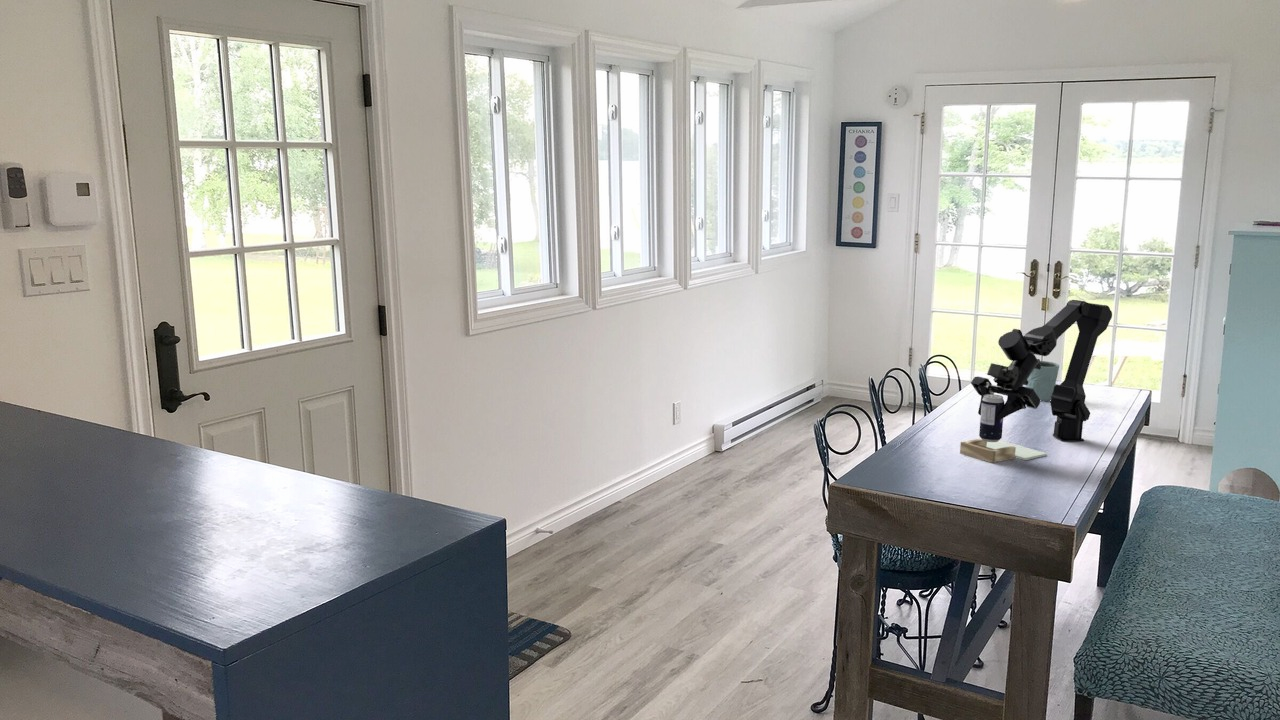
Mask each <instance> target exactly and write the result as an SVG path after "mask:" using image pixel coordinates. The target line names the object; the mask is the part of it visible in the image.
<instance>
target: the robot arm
mask: <svg viewBox="0 0 1280 720" xmlns="http://www.w3.org/2000/svg"><path fill="white" fill-rule="evenodd" d="M1112 317H1113V312H1112V310H1111V308H1110V306H1109V305H1106V304H1099V303H1091V302H1087V301H1085V300H1077V299H1071V300H1068V301H1067V302H1066V305H1065V306H1064V307H1063V308H1062V309H1060V310H1059V311H1058V312H1057V313H1056V314H1055V315H1054V316H1053V317H1051V319H1049V321H1047V322H1046V323H1045V324H1044V325H1042V326H1039V327H1036V328H1032V329H1031V330H1030V331H1027V332H1026V333H1025V334H1024V335H1023V332H1022V330H1021V329H1018V328H1012V330H1011V331H1008V332H1006V333H1004V334H1003V335H1001V336H1000V337H999V339H998V341H997V342H998V345H999V348H1000V349H1001V351H1002V352H1003V354H1004V355H1005V357H1006V358H1007V359H1008V360H1009V361H1011V362H1010V364H1009V365H1008V366H1005V365H1003V364H1002V365H1001V364H997V363H990V366H989V368H988V371H987V373H986V375H987V376H990V377H991V378H992V377H993V381H994V383H995V384H996V385H995V384H992V382H991V381H990V379H989V378H986V377H982V376H978V375H977V376H974V377H973V379H972V380H971V381H970V384H971V386H972V387H973V389H974V390H975V392H976V393H977V394H978V395H979V396H981V397H980V402H979V405H978V406H979V408H978V411H977V413H978V415H979V416H981V404H982V399H983V397H984V395H986V394H997V395H1001V396H1005V397H1006V396H1007V399H1006V401H1005V402H1004V406H1003V407H1002V409H1001V410H1000V412H999V414H998V416H997V419H998V420H1001V419H1003V420H1004V419H1005V418H1007V417H1008V416H1010V415H1012V414H1014V413H1016V412H1019V411H1020V410H1023V409H1024V410H1025V409H1027V408H1030V409H1034V410H1037V409H1038V407H1039V406H1040V405H1041V401H1040V398H1039V397H1038V395H1037V394H1036V392H1035V391H1034V389H1032V388H1028V387H1026V385H1028V383H1029V382H1028V380H1027V379H1028V377H1029V376H1030V374H1031V373H1032V371H1033V370H1034V369H1039V370H1040V369H1041V364H1040V361H1041V360H1040V359H1039V358H1037V356H1041V357H1047V356H1049V355H1051V353H1052V352H1053V351H1054V349H1056V347H1057V341H1058V339H1059V338H1061V336H1063V334H1064V333H1065V332H1066V331H1067V330H1069V328H1071V327H1072V326H1073V325H1074V324H1075V323H1076V326H1077V328H1078V335H1077V339H1076V342H1075V345H1074V348H1073V351H1072V355H1071V358H1070V362H1069V363H1068V364H1069V365H1068V368H1067V371H1066V373H1065V376H1064V377H1065V378H1064V380H1063V381H1062V382H1061V383H1059V384H1057V383H1056V385H1055V386H1054V390H1053V393H1052V396H1051V401H1049V403H1050V408H1051V409H1050V410H1051V416H1056V421H1054V427H1053V433H1052V436H1053V437H1055V438H1056V439H1058V440H1059V441H1062V442H1084V441H1085V439H1084V438H1082V436H1083V429H1084V428H1083V426H1084V425H1083V424H1084V422H1087V421H1088V420H1089V419H1090V415H1091V412H1090V410H1089V408H1088V407H1087V405H1086V403H1085V402H1086V398H1087V397H1086V396H1087V395H1086V393H1085V388H1084V384H1085V383H1084V382H1085V379H1086V376H1087V373H1088V370H1089V367H1090V364H1091V360H1092V357H1093V353H1094V350H1095V347H1096V344H1097V340H1098V338H1099V336H1100V335H1102V334H1103V333H1104V332H1105V331H1106V330H1107V329H1108V327H1109V325H1110V321H1111V320H1112Z"/></svg>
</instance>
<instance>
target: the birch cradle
mask: <svg viewBox="0 0 1280 720" xmlns="http://www.w3.org/2000/svg"><path fill="white" fill-rule="evenodd" d="M959 446H960V448H959V454H961V455H966V456H969V457H971V458H975V459H978V460H981V461H984V460H985V462H987V461H988V463H990V462H993V463H997V462H996V461H998V462H1002V461H1001V460H1003V461H1006V459H1007V460H1012V459H1015V450H1016V447H1014V446H1009V447H1004V448H999V449H994V450H990V449H987V442H986V441H983V440H982V439H981V438H980V437H979V438H976V439H971V440H965V441H961V442H960V445H959ZM1011 458H1012V459H1011Z"/></svg>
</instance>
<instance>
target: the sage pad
mask: <svg viewBox="0 0 1280 720" xmlns="http://www.w3.org/2000/svg"><path fill="white" fill-rule="evenodd" d="M1009 446H1014V447H1016V450H1015V457H1016V459H1020V460H1022V459H1023V461H1028V460H1032V459H1037V458H1041V457H1042V456H1043V457H1047V456H1048V455H1047V454H1048V453H1046V452H1043V451H1040V450H1036V449H1032V448H1029V447H1026V446H1022V445H1018V444H1015V443H1011V442H1008V441H1005V440H1002V439H1000V440H999V441H998V442H987V449H990V450H994V449H999V448H1004V447H1009Z"/></svg>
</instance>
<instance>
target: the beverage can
mask: <svg viewBox="0 0 1280 720" xmlns="http://www.w3.org/2000/svg"><path fill="white" fill-rule="evenodd" d="M1004 404H1005V400H1004V395H1001V394H996V393H994V394H986V395H984V397H983V399H982V404H981V415H980V417H979V418H980V420H979V432H978V433H979V434H978V436H979V439H980V438H981V439H982V440H983V441H986V442H998V441H999V440H1002V438H1003V437H1002V436H1003V425H1004V418H1003V419H1001V420H998V419H997V416H998V414H999V412H1000V410H1001V409H1002V407H1003V406H1004Z"/></svg>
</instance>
